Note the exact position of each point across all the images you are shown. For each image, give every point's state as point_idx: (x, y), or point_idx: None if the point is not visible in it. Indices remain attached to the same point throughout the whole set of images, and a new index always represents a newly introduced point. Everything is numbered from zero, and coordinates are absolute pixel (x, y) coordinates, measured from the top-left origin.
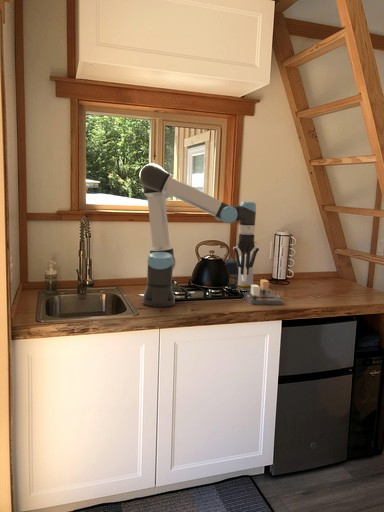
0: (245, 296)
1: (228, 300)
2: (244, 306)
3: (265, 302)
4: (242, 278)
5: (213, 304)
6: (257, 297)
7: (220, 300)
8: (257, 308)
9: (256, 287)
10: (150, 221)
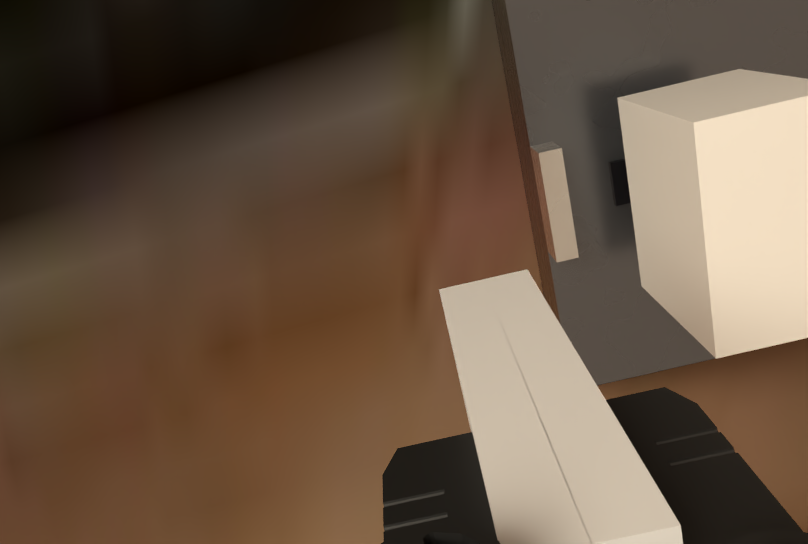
0: (507, 41)
1: (203, 234)
2: None
3: None
4: (457, 369)
5: (10, 517)
6: None
7: (72, 273)
8: None
9: (768, 338)
10: None
